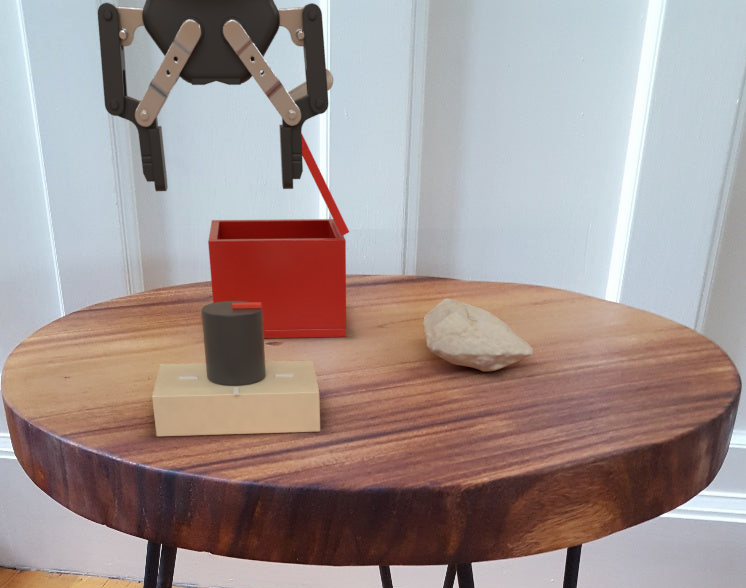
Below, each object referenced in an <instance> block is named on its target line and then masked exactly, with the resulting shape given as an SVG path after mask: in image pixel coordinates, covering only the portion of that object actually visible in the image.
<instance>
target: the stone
mask: <svg viewBox="0 0 746 588" xmlns="http://www.w3.org/2000/svg"><path fill="white" fill-rule="evenodd" d="M423 328H424V331H423V333H424V334H425V340H426V348H428V349H429V351H430V352H431V353H432V354H434V355H435V356H437V357H439V358H440V359H442V360H444V361H445V362H447V363H448V362H449V363H450V364H453V365H456V366H463V367H469V368H472V369H476V370H479V371H481V372H493V371H497V370H501V369H503V368H505V367H508V366H511V365H513V364H516V363H518V362H521V361H523V360H525V359H526V358H528V357H531V356H533V354H534V348H533V347H532V346H531V345H530V344H529V343H528V342H527V341H526V340H525V339H523V338H522V337H520V336H518V335H517V334H516V333H515V332H514V331H513V330H512V329H511V327H510V326H509V325H508V324H507V323H505V322H504V321H502V319H499V318H498V317H497V316H496V315H494V314H493V313H492V312H490V311H488V310H487V309H483V308H481V307H478V306H475V305H473V304H468V303H465V302H462V301H460V300H457V299H453V298H450V297H447V298H444V299H442V301H440V302H439V303H437V304H436V305H435V306H434V307H433V308H432V309H430V310H429V311H427V312H426V314H425V315H424V317H423Z"/></svg>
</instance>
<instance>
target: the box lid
mask: <svg viewBox="0 0 746 588" xmlns="http://www.w3.org/2000/svg"><path fill="white" fill-rule="evenodd" d="M326 77H327V91H328V92H329V91H330V90H331V89H332V87H333V84H334V76H333V74H332V72H331V71H330V70H329V69H328V68H326ZM287 92H288V93H289V95H290V96H291V98H292V99H293V101H294V100H296V99H298V98H301V97H303V96H305V95H307V86H306V80H305V81H303V82H302V83H300V84H298V85H297V86H296V87H294V88H292V89H291V90H289V91H287ZM302 159H303V161H304V162H305V164H306V166H307V168H308V170H309V172H310V174H311V177H312V178H313V181H314V183H315V184H316V187H317V189H318V191H319V193H320V195H321V197H322V199H323V201H324V204H325V205H326V207H327V209H328V211H329V214H330V215H331V217H332V219H334V221H335V224H336V226H337V228H338V230H339V232H340V234H341V236H345V235H347V234H349V233H350V230H349V228H348V226H347V224H346V222H345V220H344V218H343V215H342V214H341V211H340V209H339V207H338V205H337V203H336V201H335V199H334V197H333V195H332V193H331V191H330V188H329V187H328V185H327V182H326V180H325V179H324V176H323V174H322V172H321V170H320V168H319V166H318V164H317V161H316V160H315V158H314V156H313V153H312V152H311V150H310V147H309V145H308V143H307V141H306V139H305V137H304V134H302Z"/></svg>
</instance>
